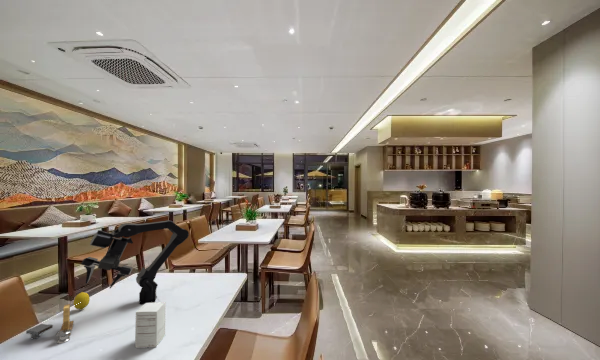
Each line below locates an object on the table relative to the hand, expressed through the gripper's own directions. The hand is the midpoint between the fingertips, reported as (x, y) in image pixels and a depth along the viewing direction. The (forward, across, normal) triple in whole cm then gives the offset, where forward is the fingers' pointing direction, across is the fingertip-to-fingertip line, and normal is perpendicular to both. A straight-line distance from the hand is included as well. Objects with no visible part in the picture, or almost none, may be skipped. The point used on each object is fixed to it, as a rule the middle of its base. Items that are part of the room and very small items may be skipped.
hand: (98, 285), depth 111 cm
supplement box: (+7, +28, -30) cm, 41 cm away
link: (+15, -1, -10) cm, 18 cm away
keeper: (+18, -8, -11) cm, 23 cm away
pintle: (+16, 0, -16) cm, 23 cm away
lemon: (+14, -3, +10) cm, 17 cm away
